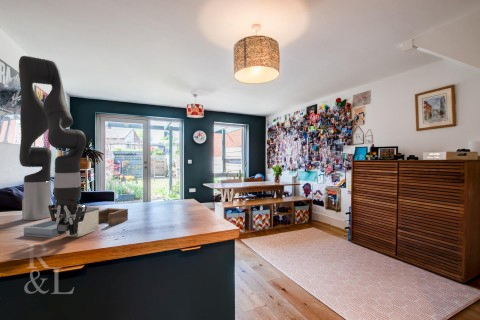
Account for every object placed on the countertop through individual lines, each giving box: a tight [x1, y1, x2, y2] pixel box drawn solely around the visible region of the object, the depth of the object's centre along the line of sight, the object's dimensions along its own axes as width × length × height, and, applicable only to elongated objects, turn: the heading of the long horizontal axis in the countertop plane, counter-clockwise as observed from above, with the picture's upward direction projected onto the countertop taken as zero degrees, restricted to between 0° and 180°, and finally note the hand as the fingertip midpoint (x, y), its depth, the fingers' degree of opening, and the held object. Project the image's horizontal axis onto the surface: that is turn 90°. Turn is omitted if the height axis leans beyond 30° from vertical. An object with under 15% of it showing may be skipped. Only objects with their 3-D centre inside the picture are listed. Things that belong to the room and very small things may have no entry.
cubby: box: [98, 207, 129, 227], centre depth 97 cm, size 10×10×5 cm
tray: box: [23, 217, 66, 239], centre depth 86 cm, size 12×16×3 cm
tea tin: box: [57, 206, 100, 238], centre depth 81 cm, size 5×13×9 cm, turn 170°
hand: (67, 233), depth 77 cm, fingers open, 4 cm apart
